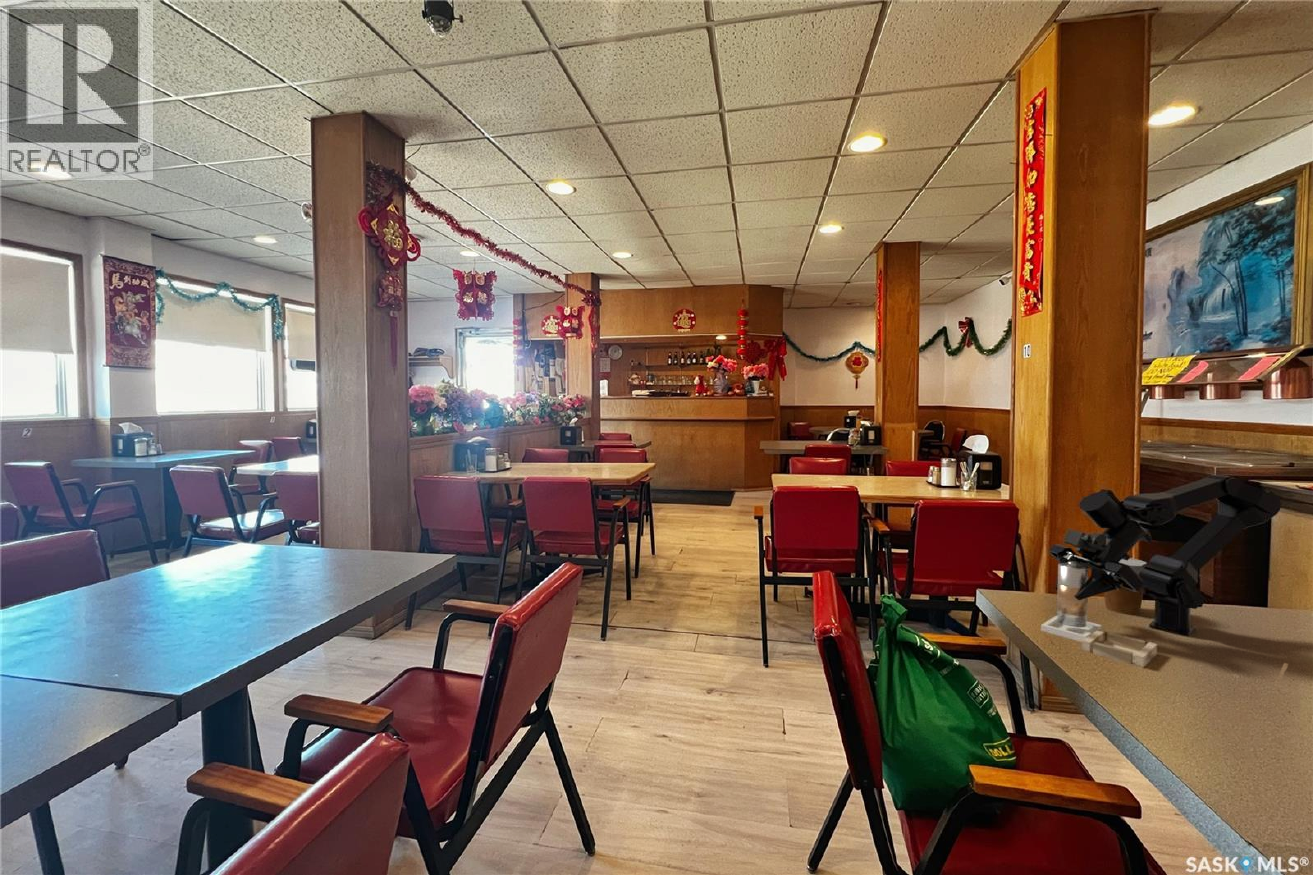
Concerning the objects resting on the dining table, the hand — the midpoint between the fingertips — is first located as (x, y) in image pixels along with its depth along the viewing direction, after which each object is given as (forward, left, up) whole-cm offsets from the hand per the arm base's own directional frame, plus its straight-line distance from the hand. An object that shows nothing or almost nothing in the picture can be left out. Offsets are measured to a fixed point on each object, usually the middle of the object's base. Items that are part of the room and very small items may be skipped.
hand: (1066, 594), depth 119 cm
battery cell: (-1, +1, -6) cm, 7 cm away
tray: (-1, +1, -9) cm, 9 cm away
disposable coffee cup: (-27, +3, -9) cm, 29 cm away
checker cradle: (+4, +10, -9) cm, 14 cm away
